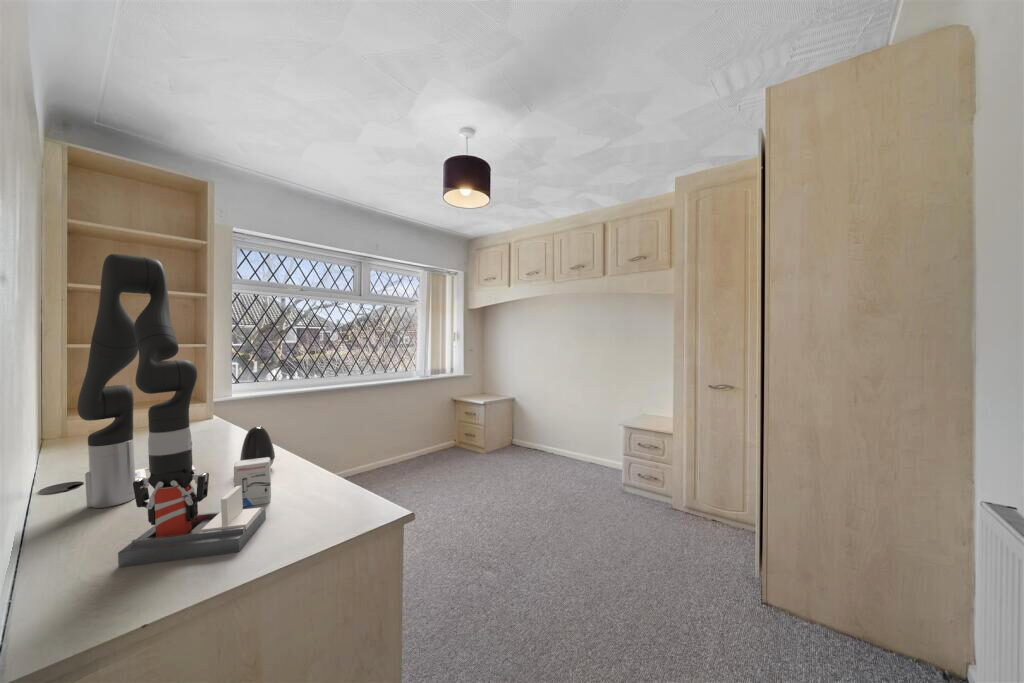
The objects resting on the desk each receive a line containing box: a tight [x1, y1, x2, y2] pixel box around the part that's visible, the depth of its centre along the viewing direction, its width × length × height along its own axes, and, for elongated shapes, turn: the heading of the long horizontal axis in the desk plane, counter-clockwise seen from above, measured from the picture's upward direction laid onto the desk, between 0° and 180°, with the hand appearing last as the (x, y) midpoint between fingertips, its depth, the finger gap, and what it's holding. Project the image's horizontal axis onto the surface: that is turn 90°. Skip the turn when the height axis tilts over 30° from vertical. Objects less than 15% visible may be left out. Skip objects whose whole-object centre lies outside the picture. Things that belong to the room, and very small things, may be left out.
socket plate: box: [117, 506, 267, 568], centre depth 94 cm, size 22×16×4 cm
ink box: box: [233, 457, 272, 508], centre depth 114 cm, size 9×5×12 cm, turn 117°
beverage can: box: [154, 486, 191, 537], centre depth 92 cm, size 6×6×12 cm
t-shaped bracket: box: [201, 486, 261, 532], centre depth 95 cm, size 9×9×7 cm
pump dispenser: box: [239, 425, 276, 467], centre depth 141 cm, size 10×10×15 cm
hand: (173, 521), depth 93 cm, fingers closed on beverage can, 6 cm apart
